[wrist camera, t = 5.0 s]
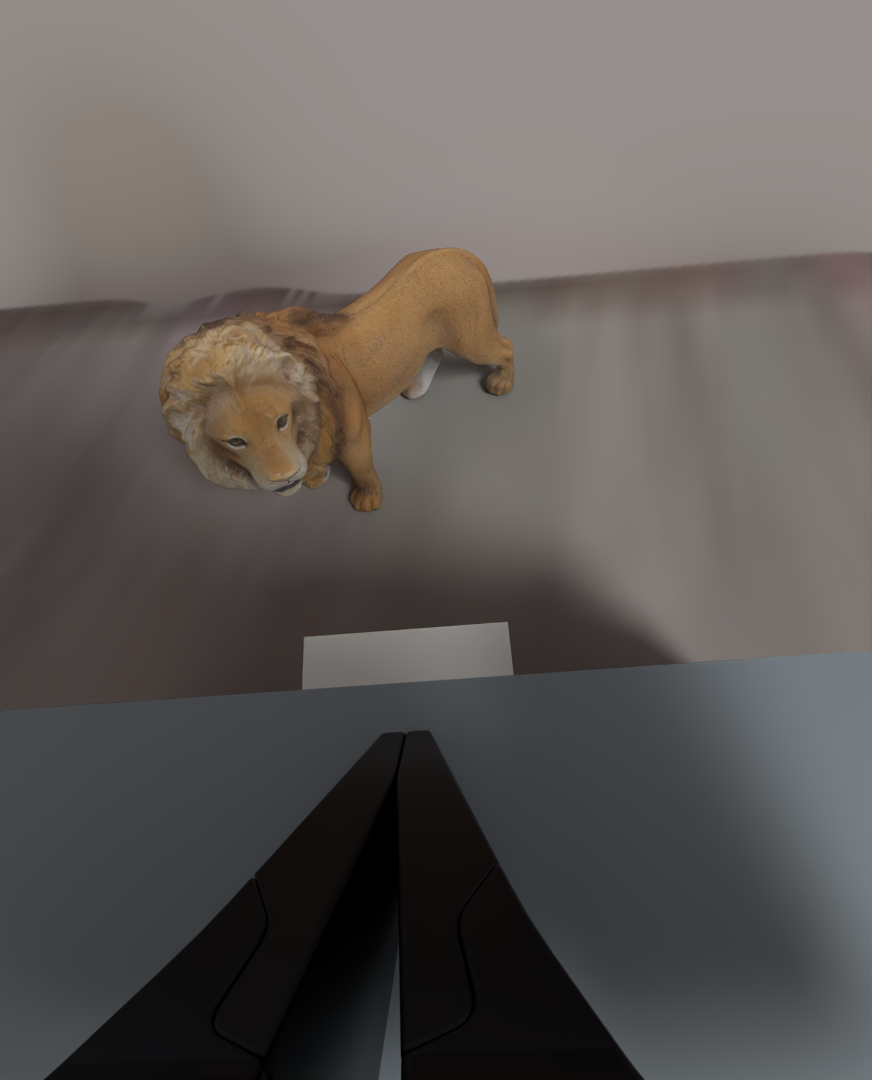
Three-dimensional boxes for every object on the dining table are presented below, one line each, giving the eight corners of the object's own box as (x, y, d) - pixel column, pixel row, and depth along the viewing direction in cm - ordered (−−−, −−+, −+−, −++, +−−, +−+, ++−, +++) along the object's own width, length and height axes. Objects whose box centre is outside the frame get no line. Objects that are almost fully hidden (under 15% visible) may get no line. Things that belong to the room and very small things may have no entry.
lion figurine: (331, 608, 18) (213, 441, 10) (232, 538, 20) (68, 351, 12) (541, 360, 23) (568, 125, 15) (447, 323, 25) (429, 96, 17)
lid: (1255, 1740, 6) (1446, 1989, 5) (-229, 1683, 7) (-372, 1873, 6) (842, 608, 10) (886, 593, 9) (17, 669, 11) (-32, 662, 10)
